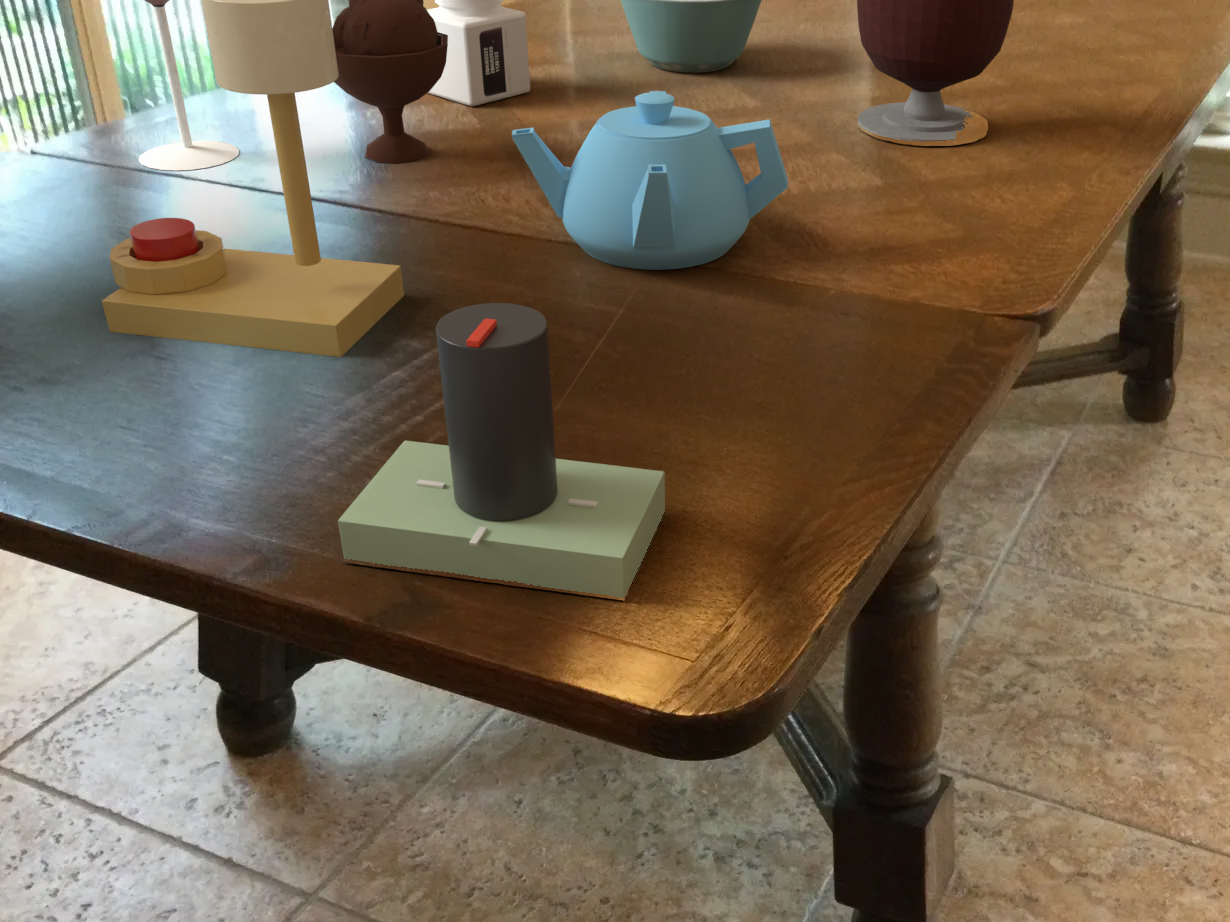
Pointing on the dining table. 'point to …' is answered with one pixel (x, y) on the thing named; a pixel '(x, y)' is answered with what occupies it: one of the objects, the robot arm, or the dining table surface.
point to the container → (481, 51)
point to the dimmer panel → (508, 525)
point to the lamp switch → (164, 239)
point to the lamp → (278, 83)
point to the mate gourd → (928, 59)
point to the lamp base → (250, 298)
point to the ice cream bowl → (389, 66)
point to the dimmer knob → (498, 409)
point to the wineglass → (181, 119)
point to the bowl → (691, 32)
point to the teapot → (657, 184)
